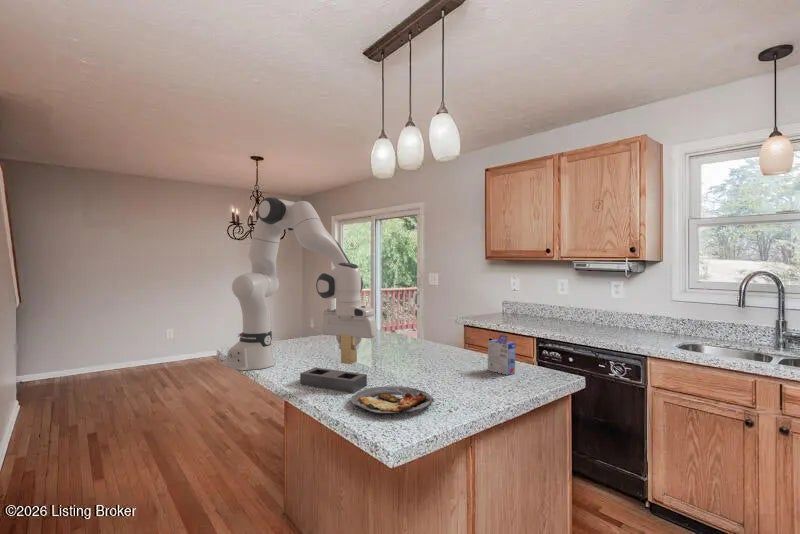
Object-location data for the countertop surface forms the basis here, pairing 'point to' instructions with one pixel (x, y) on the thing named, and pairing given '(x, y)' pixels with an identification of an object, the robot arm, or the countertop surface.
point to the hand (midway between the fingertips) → (348, 349)
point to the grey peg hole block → (334, 379)
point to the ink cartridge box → (501, 356)
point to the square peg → (348, 349)
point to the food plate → (392, 399)
